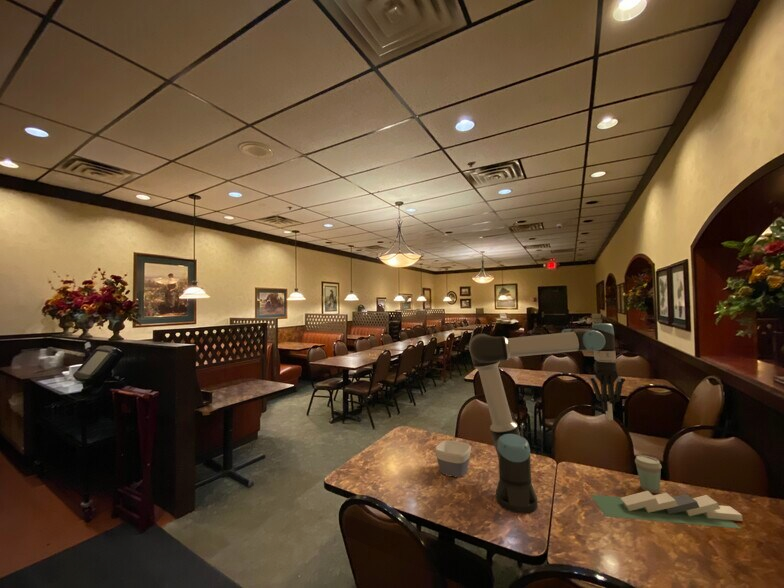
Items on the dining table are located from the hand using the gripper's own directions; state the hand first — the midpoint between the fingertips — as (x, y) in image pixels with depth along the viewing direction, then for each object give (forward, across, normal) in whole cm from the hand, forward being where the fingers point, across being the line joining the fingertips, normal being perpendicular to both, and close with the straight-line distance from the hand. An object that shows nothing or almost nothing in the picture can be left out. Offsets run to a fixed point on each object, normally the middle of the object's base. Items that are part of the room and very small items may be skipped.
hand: (609, 418), depth 131 cm
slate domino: (+27, +11, -12) cm, 31 cm away
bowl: (+29, -64, +7) cm, 71 cm away
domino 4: (+27, +22, -12) cm, 37 cm away
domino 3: (+27, +17, -12) cm, 34 cm away
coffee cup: (+29, +14, +3) cm, 32 cm away
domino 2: (+27, +4, -12) cm, 30 cm away
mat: (+29, +9, -12) cm, 32 cm away
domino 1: (+27, -2, -12) cm, 30 cm away
